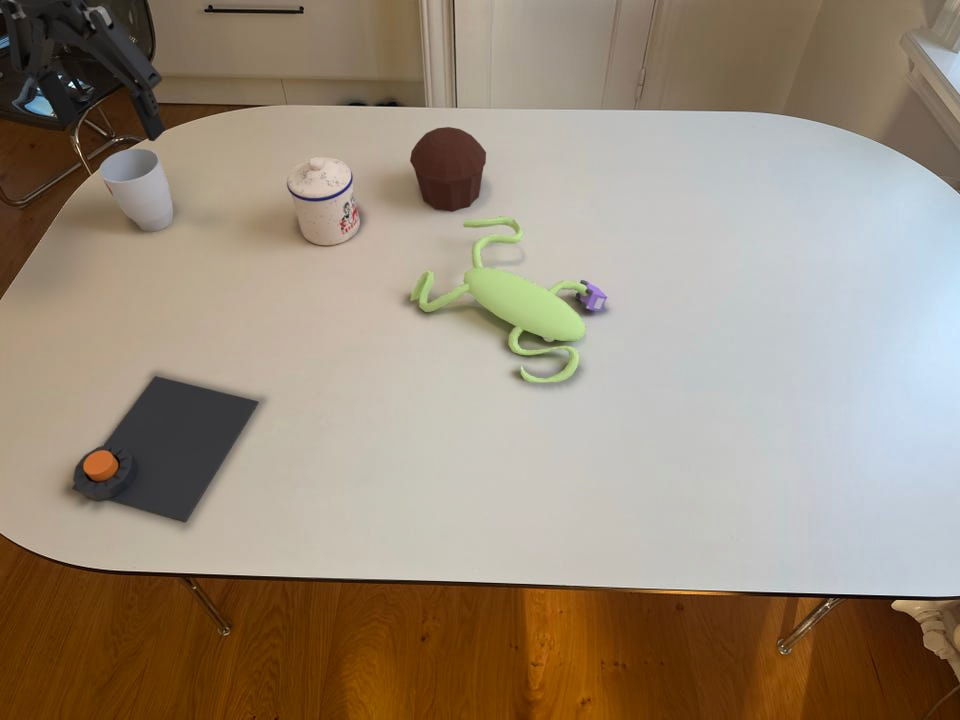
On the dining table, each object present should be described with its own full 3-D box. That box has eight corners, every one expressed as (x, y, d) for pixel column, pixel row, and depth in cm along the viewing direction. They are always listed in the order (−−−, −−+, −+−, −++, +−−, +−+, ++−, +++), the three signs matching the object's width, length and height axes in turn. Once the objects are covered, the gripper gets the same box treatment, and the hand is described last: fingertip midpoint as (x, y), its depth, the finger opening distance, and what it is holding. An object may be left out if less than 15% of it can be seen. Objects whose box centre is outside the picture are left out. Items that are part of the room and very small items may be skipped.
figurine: (485, 229, 104) (484, 198, 99) (637, 316, 92) (644, 285, 88) (394, 297, 95) (389, 266, 91) (548, 402, 83) (551, 373, 79)
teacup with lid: (356, 248, 102) (343, 181, 93) (294, 247, 102) (274, 180, 93) (368, 196, 109) (356, 129, 100) (310, 195, 110) (293, 129, 101)
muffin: (498, 206, 107) (498, 148, 99) (430, 225, 104) (424, 168, 97) (469, 163, 114) (467, 107, 106) (404, 180, 112) (397, 124, 104)
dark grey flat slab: (74, 498, 77) (61, 484, 74) (159, 382, 87) (150, 367, 84) (187, 530, 74) (177, 517, 72) (261, 408, 84) (254, 392, 82)
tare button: (83, 477, 75) (76, 470, 74) (100, 454, 77) (94, 447, 76) (107, 484, 75) (101, 477, 73) (124, 461, 76) (118, 453, 75)
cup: (138, 203, 109) (111, 147, 101) (190, 204, 109) (166, 148, 101) (120, 238, 104) (89, 182, 96) (174, 238, 104) (148, 182, 96)
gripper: (147, -46, 78) (209, 125, 94) (-36, -65, 83) (53, 101, 99) (106, -17, 73) (179, 157, 90) (-86, -39, 78) (17, 130, 95)
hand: (113, 128), depth 94 cm, fingers open, 13 cm apart
